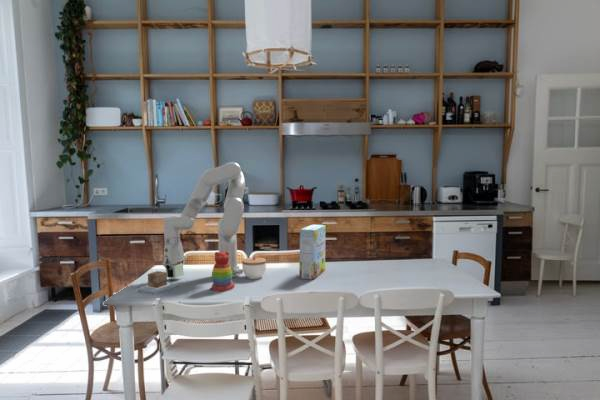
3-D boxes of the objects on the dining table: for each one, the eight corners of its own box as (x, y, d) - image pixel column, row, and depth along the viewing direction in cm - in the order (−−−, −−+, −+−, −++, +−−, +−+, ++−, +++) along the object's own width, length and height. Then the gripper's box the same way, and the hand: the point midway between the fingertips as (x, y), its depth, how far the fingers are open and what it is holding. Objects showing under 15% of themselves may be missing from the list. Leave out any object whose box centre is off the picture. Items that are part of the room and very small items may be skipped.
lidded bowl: (262, 281, 213) (262, 259, 212) (238, 279, 216) (238, 258, 215) (269, 274, 225) (269, 254, 225) (246, 273, 228) (246, 253, 227)
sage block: (183, 275, 219) (182, 263, 218) (175, 278, 213) (174, 266, 213) (174, 274, 221) (173, 263, 221) (166, 277, 216) (165, 265, 215)
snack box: (315, 280, 213) (314, 229, 211) (298, 279, 216) (298, 229, 214) (326, 270, 234) (326, 224, 232) (311, 269, 236) (311, 223, 234)
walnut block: (166, 284, 203) (166, 272, 203) (157, 287, 198) (157, 275, 197) (157, 283, 206) (157, 271, 205) (148, 286, 200) (147, 274, 200)
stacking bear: (235, 285, 205) (234, 249, 204) (232, 291, 195) (231, 253, 194) (212, 285, 205) (211, 249, 204) (209, 292, 195) (208, 253, 194)
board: (177, 285, 206) (177, 283, 205) (156, 293, 193) (156, 290, 193) (158, 283, 211) (158, 280, 211) (136, 290, 198) (136, 288, 198)
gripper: (166, 244, 206) (168, 280, 208) (189, 237, 222) (192, 271, 223) (154, 243, 210) (157, 279, 211) (178, 237, 225) (180, 270, 227)
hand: (175, 274), depth 217 cm, fingers closed on sage block, 6 cm apart
